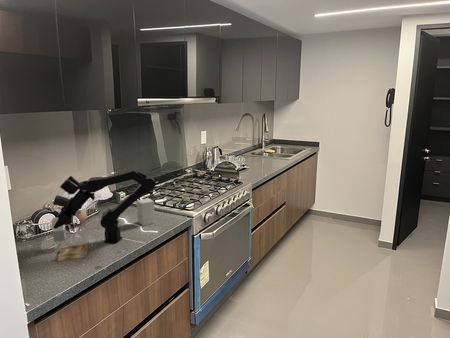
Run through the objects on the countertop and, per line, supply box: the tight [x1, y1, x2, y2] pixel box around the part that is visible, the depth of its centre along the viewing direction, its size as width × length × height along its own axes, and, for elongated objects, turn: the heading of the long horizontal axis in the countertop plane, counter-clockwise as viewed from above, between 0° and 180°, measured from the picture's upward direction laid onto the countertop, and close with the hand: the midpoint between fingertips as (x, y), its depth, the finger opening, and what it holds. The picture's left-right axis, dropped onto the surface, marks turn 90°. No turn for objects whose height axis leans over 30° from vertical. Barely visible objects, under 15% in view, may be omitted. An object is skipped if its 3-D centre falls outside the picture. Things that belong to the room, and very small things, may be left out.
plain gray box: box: [51, 217, 67, 243], centre depth 156 cm, size 4×4×10 cm
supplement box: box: [136, 197, 156, 227], centre depth 185 cm, size 7×7×13 cm
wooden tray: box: [57, 243, 89, 262], centre depth 151 cm, size 11×11×2 cm
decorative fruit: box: [74, 209, 88, 225], centre depth 184 cm, size 9×8×10 cm
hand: (55, 226), depth 155 cm, fingers closed on plain gray box, 4 cm apart
